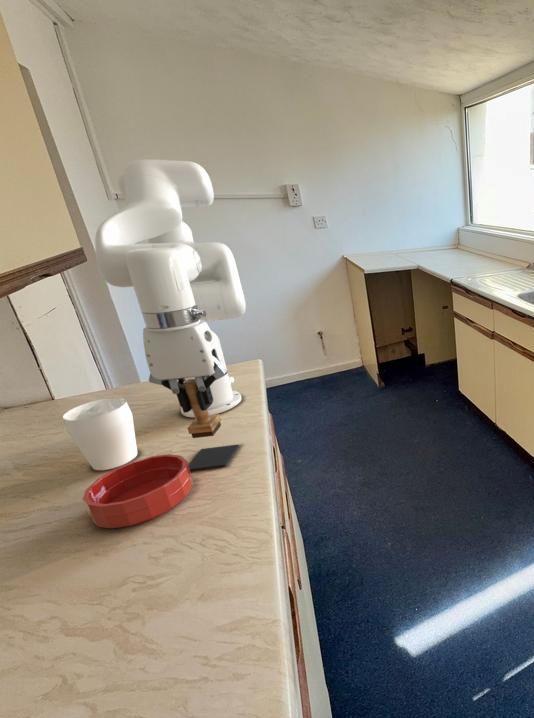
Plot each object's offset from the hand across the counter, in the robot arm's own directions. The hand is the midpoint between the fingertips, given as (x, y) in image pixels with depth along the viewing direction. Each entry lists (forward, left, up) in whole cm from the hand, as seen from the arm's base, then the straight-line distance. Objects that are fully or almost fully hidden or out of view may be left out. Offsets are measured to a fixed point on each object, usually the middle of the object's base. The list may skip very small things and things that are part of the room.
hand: (198, 407), depth 77 cm
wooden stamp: (-1, 0, -6) cm, 6 cm away
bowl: (+11, -6, -12) cm, 17 cm away
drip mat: (0, 0, -12) cm, 12 cm away
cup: (-4, -19, -12) cm, 23 cm away
